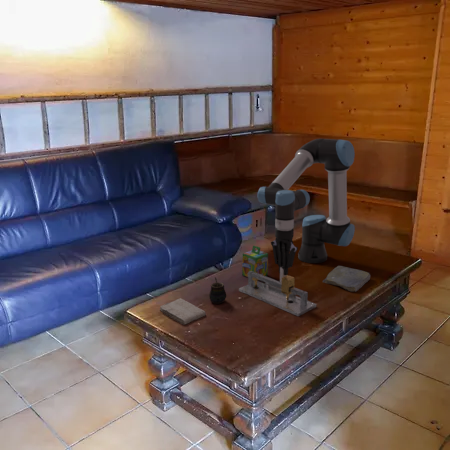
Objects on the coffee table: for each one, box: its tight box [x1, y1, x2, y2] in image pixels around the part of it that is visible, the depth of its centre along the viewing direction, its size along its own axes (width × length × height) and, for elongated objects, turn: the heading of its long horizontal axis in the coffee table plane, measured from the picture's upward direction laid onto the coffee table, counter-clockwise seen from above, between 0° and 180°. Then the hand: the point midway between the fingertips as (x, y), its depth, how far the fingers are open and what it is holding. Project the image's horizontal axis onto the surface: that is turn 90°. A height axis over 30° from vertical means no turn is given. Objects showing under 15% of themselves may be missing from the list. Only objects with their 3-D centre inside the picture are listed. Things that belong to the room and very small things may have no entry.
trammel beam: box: [238, 271, 317, 317], centre depth 204 cm, size 12×34×8 cm, turn 43°
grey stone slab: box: [322, 265, 371, 292], centre depth 221 cm, size 20×5×17 cm
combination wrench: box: [264, 282, 300, 300], centre depth 208 cm, size 4×1×20 cm
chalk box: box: [241, 245, 269, 278], centre depth 228 cm, size 9×9×15 cm
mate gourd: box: [209, 276, 227, 305], centre depth 202 cm, size 7×8×10 cm
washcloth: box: [159, 297, 207, 325], centre depth 194 cm, size 12×18×3 cm, turn 44°
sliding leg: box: [280, 275, 295, 300], centre depth 199 cm, size 4×4×10 cm
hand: (283, 281), depth 200 cm, fingers closed
